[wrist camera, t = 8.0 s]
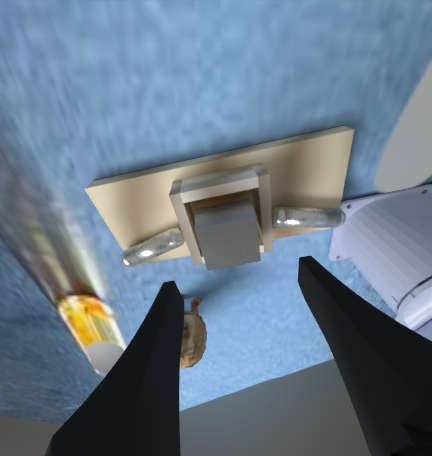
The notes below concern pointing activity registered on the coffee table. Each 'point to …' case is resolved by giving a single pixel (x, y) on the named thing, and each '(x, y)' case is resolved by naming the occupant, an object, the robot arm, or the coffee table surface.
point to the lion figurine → (193, 336)
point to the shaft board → (227, 189)
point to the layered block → (227, 230)
